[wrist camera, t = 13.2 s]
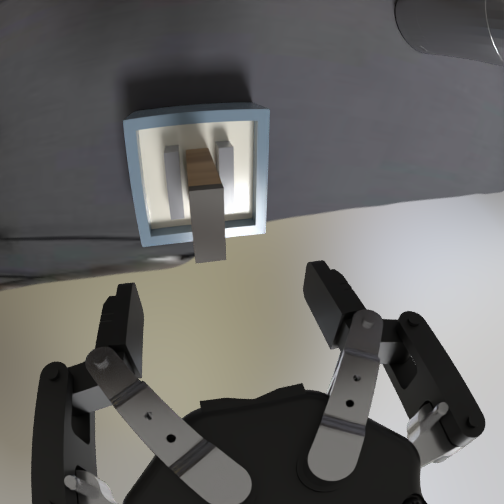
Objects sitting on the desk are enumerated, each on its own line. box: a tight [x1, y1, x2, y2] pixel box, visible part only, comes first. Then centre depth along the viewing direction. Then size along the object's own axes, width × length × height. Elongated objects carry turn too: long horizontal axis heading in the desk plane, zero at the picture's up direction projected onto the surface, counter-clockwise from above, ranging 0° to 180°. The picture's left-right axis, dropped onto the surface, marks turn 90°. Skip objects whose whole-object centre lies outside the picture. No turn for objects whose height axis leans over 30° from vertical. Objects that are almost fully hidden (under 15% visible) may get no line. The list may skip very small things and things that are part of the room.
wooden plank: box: [186, 148, 226, 263], centre depth 22 cm, size 5×2×10 cm, turn 179°
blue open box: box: [123, 102, 270, 247], centre depth 27 cm, size 12×12×8 cm
